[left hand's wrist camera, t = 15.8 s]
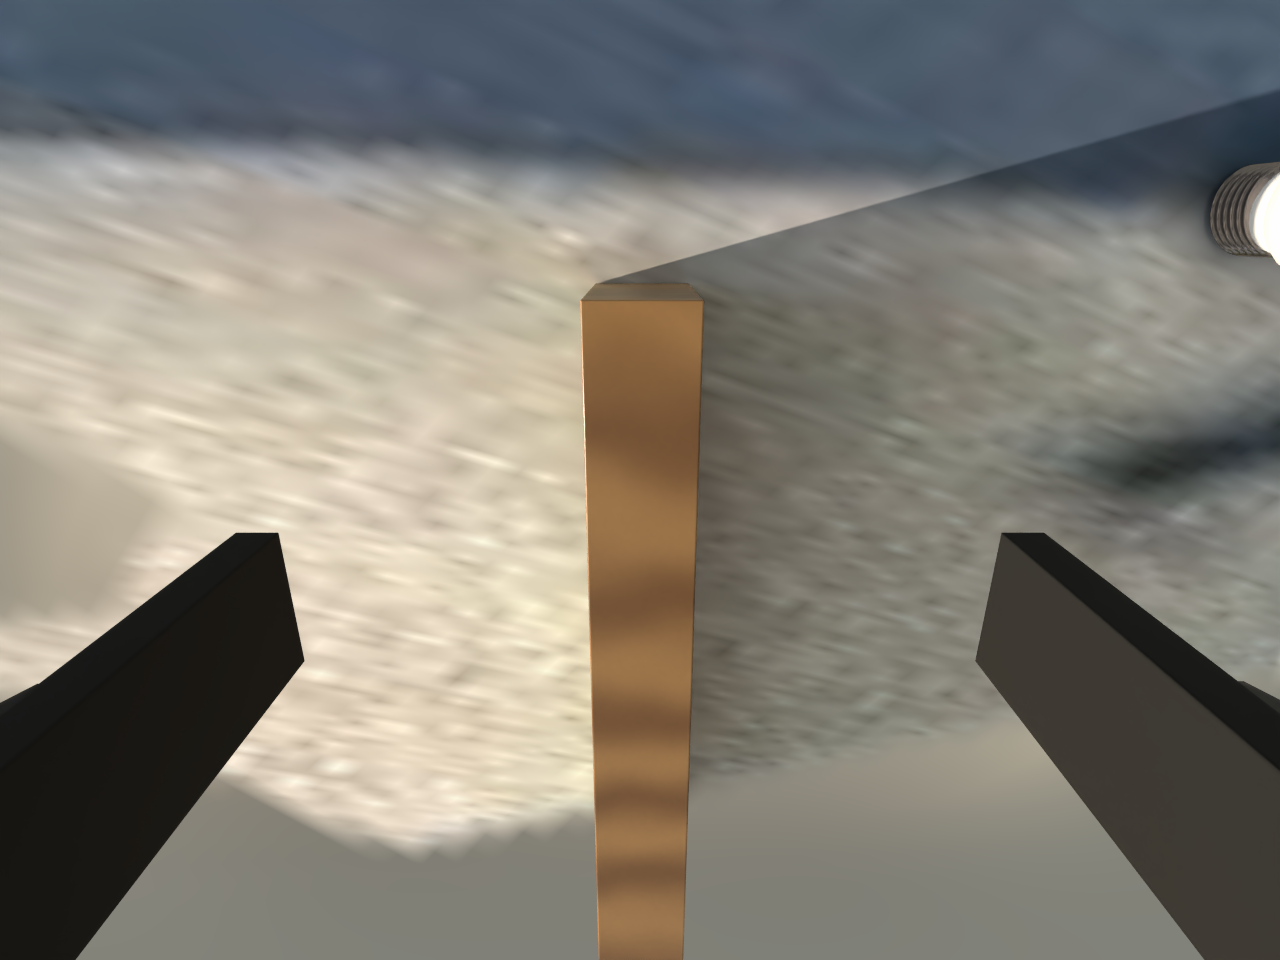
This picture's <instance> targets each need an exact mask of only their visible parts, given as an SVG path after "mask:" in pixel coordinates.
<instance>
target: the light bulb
mask: <svg viewBox="0 0 1280 960" xmlns="http://www.w3.org/2000/svg"><path fill="white" fill-rule="evenodd" d="M1210 225H1211V230H1212V234H1213V236H1214V238H1215V240H1216V242H1217V243H1218V245H1219V246H1220V247H1221V248H1222V249H1224V250H1225V251H1227V252H1228V253H1230V254H1234V255H1238V256H1254V257H1258V256H1259V257H1273V258H1274V259H1275V261H1276V263H1277V264H1279V265H1280V162H1273V163H1265V164H1254V165H1249V166H1246V167H1243V168H1241V169H1239V170H1238V171H1236V172H1234V173H1233V174H1232V175H1231V176H1230V177H1229V178H1227V180H1226V181H1225V182H1224V183H1223V184H1222V186H1221V187H1220V188H1219V190H1218V192H1217V194H1216V196H1215V198H1214V201H1213V203H1212V208H1211V213H1210Z"/></svg>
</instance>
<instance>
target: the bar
mask: <svg viewBox="0 0 1280 960" xmlns="http://www.w3.org/2000/svg"><path fill="white" fill-rule="evenodd" d="M580 310H581V345H582V380H583V416H584V451H585V486H586V522H587V557H588V592H589V628H590V663H591V698H592V734H593V769H594V805H595V839H596V875H597V910H598V945H599V960H683V950H684V918H685V887H686V855H687V824H688V792H689V761H690V729H691V698H692V666H693V635H694V603H695V572H696V540H697V509H698V477H699V446H700V414H701V383H702V351H703V320H704V300H703V299H702V298H701V297H700V296H699V295H698V294H697V293H696V291H695V290H694V289H693V288H692V287H691V286H690V285H689V284H595V285H594V286H593V287H592V288H591V289H590V291H589V292H588V293H587V294H586V295H585V296H584V297H583V298H582V300H581V301H580Z"/></svg>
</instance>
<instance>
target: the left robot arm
mask: <svg viewBox="0 0 1280 960" xmlns="http://www.w3.org/2000/svg"><path fill="white" fill-rule="evenodd" d="M303 662H304V656H303V651H302V646H301V641H300V637H299V632H298V627H297V622H296V617H295V612H294V607H293V602H292V597H291V593H290V588H289V583H288V578H287V573H286V568H285V563H284V558H283V553H282V549H281V544H280V539H279V534H278V533H235V534H234V535H233V536H231V537H230V538H229V539H227V540H226V541H225V542H223V543H222V544H221V545H220V546H218V547H217V548H216V549H214V550H213V551H212V552H210V553H209V554H208V555H206V556H205V557H204V558H203V559H201V560H200V561H199V562H197V563H196V564H195V565H193V566H192V567H191V568H189V569H188V570H187V571H186V572H184V573H183V574H182V575H180V576H179V577H178V578H176V579H175V580H174V581H173V582H171V583H170V584H169V585H167V586H166V587H165V588H163V589H162V590H161V591H159V592H158V593H157V594H156V595H154V596H153V597H152V598H150V599H149V600H148V601H146V602H145V603H144V604H143V605H141V606H140V607H139V608H137V609H136V610H135V611H133V612H132V613H131V614H129V615H128V616H127V617H126V618H124V619H123V620H122V621H120V622H119V623H118V624H116V625H115V626H114V627H113V628H111V629H110V630H109V631H107V632H106V633H105V634H103V635H102V636H101V637H99V638H98V639H97V640H96V641H94V642H93V643H92V644H90V645H89V646H88V647H86V648H85V649H84V650H83V651H81V652H80V653H79V654H77V655H76V656H75V657H73V658H72V659H71V660H69V661H68V662H67V663H66V664H64V665H63V666H62V667H60V668H59V669H58V670H56V671H55V672H54V673H53V674H51V675H50V676H49V677H47V678H46V679H45V680H43V681H42V682H41V683H39V684H36V685H34V686H32V687H30V688H28V689H26V690H24V691H22V692H21V693H19V694H17V695H15V696H13V697H11V698H9V699H7V700H5V701H3V702H1V703H0V960H76V958H77V957H78V956H79V954H80V953H81V952H82V951H83V949H84V948H85V947H86V945H87V944H88V943H89V941H90V940H91V939H92V938H93V936H94V935H95V934H96V932H97V931H98V930H99V928H100V927H101V926H102V924H103V923H104V922H105V920H106V919H107V918H108V917H109V915H110V914H111V913H112V911H113V910H114V909H115V907H116V906H117V905H118V904H119V902H120V901H121V900H122V898H123V897H124V896H125V894H126V893H127V892H128V891H129V889H130V888H131V887H132V885H133V884H134V883H135V881H136V880H137V879H138V877H139V876H140V875H141V874H142V872H143V871H144V870H145V868H146V867H147V866H148V864H149V863H150V862H151V860H152V859H153V858H154V857H155V855H156V854H157V853H158V851H159V850H160V849H161V847H162V846H163V845H164V844H165V842H166V841H167V840H168V838H169V837H170V836H171V834H172V833H173V832H174V831H175V829H176V828H177V827H178V825H179V824H180V823H181V821H182V820H183V819H184V817H185V816H186V815H187V814H188V812H189V811H190V810H191V808H192V807H193V806H194V804H195V803H196V802H197V800H198V799H199V798H200V797H201V795H202V794H203V793H204V791H205V790H206V789H207V787H208V786H209V785H210V784H211V782H212V781H213V780H214V778H215V777H216V776H217V774H218V773H219V772H220V771H221V769H222V768H223V767H224V765H225V764H226V763H227V761H228V760H229V759H230V757H231V756H232V755H233V754H234V752H235V751H236V750H237V748H238V747H239V746H240V744H241V743H242V742H243V741H244V739H245V738H246V737H247V735H248V734H249V733H250V731H251V730H252V729H253V727H254V726H255V725H256V724H257V722H258V721H259V720H260V718H261V717H262V716H263V714H264V713H265V712H266V710H267V709H268V708H269V707H270V705H271V704H272V703H273V701H274V700H275V699H276V697H277V696H278V695H279V694H280V692H281V691H282V690H283V688H284V687H285V686H286V684H287V683H288V682H289V680H290V679H291V678H292V677H293V675H294V674H295V673H296V671H297V670H298V669H299V667H300V666H301V665H302V664H303ZM976 662H977V664H978V665H979V666H980V667H981V669H982V670H983V671H984V673H985V674H986V675H987V677H988V678H989V679H990V680H991V682H992V683H993V684H994V686H995V687H996V688H997V690H998V691H999V692H1000V694H1001V695H1002V696H1003V697H1004V699H1005V700H1006V701H1007V703H1008V704H1009V705H1010V707H1011V708H1012V709H1013V710H1014V712H1015V713H1016V714H1017V716H1018V717H1019V718H1020V720H1021V721H1022V722H1023V724H1024V725H1025V726H1026V727H1027V729H1028V730H1029V731H1030V733H1031V734H1032V735H1033V737H1034V738H1035V739H1036V740H1037V742H1038V743H1039V744H1040V746H1041V747H1042V748H1043V750H1044V751H1045V752H1046V754H1047V755H1048V756H1049V757H1050V759H1051V760H1052V761H1053V763H1054V764H1055V765H1056V767H1057V768H1058V769H1059V771H1060V772H1061V773H1062V774H1063V776H1064V777H1065V778H1066V780H1067V781H1068V782H1069V784H1070V785H1071V786H1072V787H1073V789H1074V790H1075V791H1076V793H1077V794H1078V795H1079V797H1080V798H1081V799H1082V801H1083V802H1084V803H1085V804H1086V806H1087V807H1088V808H1089V810H1090V811H1091V812H1092V814H1093V815H1094V816H1095V817H1096V819H1097V820H1098V821H1099V823H1100V824H1101V825H1102V827H1103V828H1104V829H1105V831H1106V832H1107V833H1108V834H1109V836H1110V837H1111V838H1112V840H1113V841H1114V842H1115V844H1116V845H1117V846H1118V847H1119V849H1120V850H1121V851H1122V853H1123V854H1124V855H1125V856H1126V858H1127V859H1128V860H1129V862H1130V863H1131V864H1132V866H1133V867H1134V868H1135V870H1136V871H1137V872H1138V874H1139V875H1140V876H1141V877H1142V879H1143V880H1144V881H1145V883H1146V884H1147V885H1148V887H1149V888H1150V889H1151V891H1152V892H1153V893H1154V894H1155V896H1156V897H1157V898H1158V900H1159V901H1160V902H1161V904H1162V905H1163V906H1164V908H1165V909H1166V910H1167V911H1168V913H1169V914H1170V915H1171V917H1172V918H1173V919H1174V921H1175V922H1176V923H1177V924H1178V926H1179V927H1180V928H1181V930H1182V931H1183V932H1184V934H1185V935H1186V936H1187V937H1188V939H1189V940H1190V941H1191V943H1192V944H1193V945H1194V947H1195V948H1196V949H1197V951H1198V952H1199V953H1200V954H1201V956H1202V957H1203V958H1204V960H1280V700H1279V699H1277V698H1275V697H1273V696H1271V695H1269V694H1267V693H1265V692H1263V691H1261V690H1259V689H1258V688H1256V687H1254V686H1252V685H1250V684H1248V683H1246V682H1244V681H1237V680H1235V679H1234V678H1233V677H1231V676H1230V675H1229V674H1227V673H1226V672H1225V671H1224V670H1222V669H1221V668H1220V667H1218V666H1217V665H1216V664H1214V663H1213V662H1212V661H1211V660H1209V659H1208V658H1207V657H1205V656H1204V655H1203V654H1201V653H1200V652H1199V651H1197V650H1196V649H1195V648H1194V647H1192V646H1191V645H1190V644H1188V643H1187V642H1186V641H1184V640H1183V639H1182V638H1181V637H1179V636H1178V635H1177V634H1175V633H1174V632H1173V631H1171V630H1170V629H1169V628H1167V627H1166V626H1165V625H1164V624H1162V623H1161V622H1160V621H1158V620H1157V619H1156V618H1154V617H1153V616H1152V615H1151V614H1149V613H1148V612H1147V611H1145V610H1144V609H1143V608H1141V607H1140V606H1139V605H1137V604H1136V603H1135V602H1134V601H1132V600H1131V599H1130V598H1128V597H1127V596H1126V595H1124V594H1123V593H1122V592H1121V591H1119V590H1118V589H1117V588H1115V587H1114V586H1113V585H1111V584H1110V583H1109V582H1107V581H1106V580H1105V579H1104V578H1102V577H1101V576H1100V575H1098V574H1097V573H1096V572H1094V571H1093V570H1092V569H1091V568H1089V567H1088V566H1087V565H1085V564H1084V563H1083V562H1081V561H1080V560H1079V559H1077V558H1076V557H1075V556H1074V555H1072V554H1071V553H1070V552H1068V551H1067V550H1066V549H1064V548H1063V547H1062V546H1060V545H1059V544H1058V543H1057V542H1055V541H1054V540H1053V539H1051V538H1050V537H1049V536H1047V535H1046V534H1045V533H1002V534H1001V539H1000V544H999V549H998V553H997V558H996V563H995V568H994V573H993V578H992V583H991V588H990V593H989V597H988V602H987V607H986V612H985V617H984V622H983V627H982V632H981V637H980V641H979V646H978V651H977V656H976Z"/></svg>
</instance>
